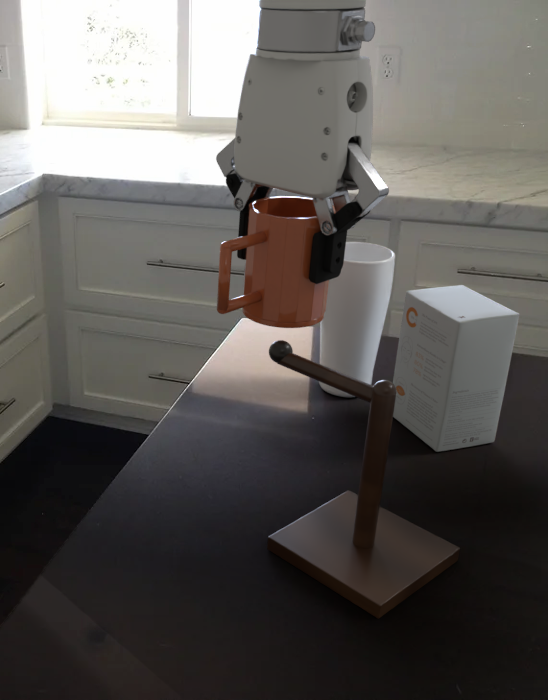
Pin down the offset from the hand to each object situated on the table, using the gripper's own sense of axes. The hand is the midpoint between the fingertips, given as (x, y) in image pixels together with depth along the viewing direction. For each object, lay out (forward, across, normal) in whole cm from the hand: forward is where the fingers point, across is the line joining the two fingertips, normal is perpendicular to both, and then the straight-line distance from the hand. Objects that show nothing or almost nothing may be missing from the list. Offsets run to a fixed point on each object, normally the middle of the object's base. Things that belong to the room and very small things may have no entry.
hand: (287, 265), depth 70 cm
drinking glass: (+19, +5, -17) cm, 26 cm away
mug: (+4, 0, +2) cm, 5 cm away
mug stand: (+19, -11, +5) cm, 22 cm away
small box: (+19, -6, -17) cm, 26 cm away
